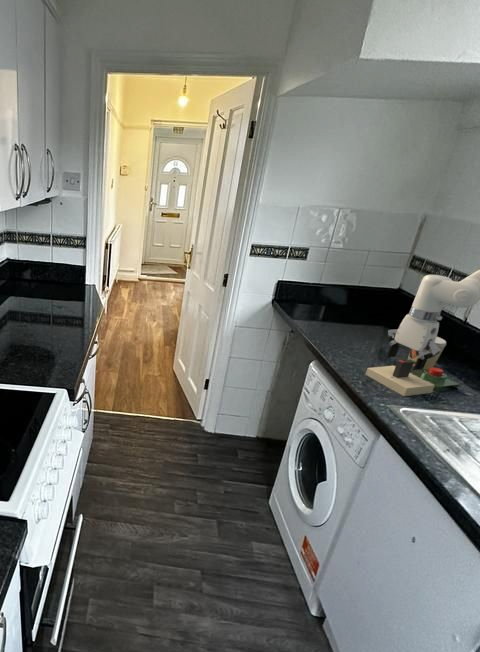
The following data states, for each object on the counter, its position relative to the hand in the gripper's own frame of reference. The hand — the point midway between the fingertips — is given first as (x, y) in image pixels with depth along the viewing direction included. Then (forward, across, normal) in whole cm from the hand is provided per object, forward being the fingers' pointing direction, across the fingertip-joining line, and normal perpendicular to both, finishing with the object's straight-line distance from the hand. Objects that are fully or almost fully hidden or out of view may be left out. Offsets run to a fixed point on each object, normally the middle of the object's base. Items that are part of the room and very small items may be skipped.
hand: (404, 362), depth 138 cm
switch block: (+8, -2, -13) cm, 16 cm away
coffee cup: (+8, +9, -21) cm, 24 cm away
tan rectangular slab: (+8, 0, 0) cm, 8 cm away
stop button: (+4, -2, -13) cm, 14 cm away
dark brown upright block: (+5, 0, 0) cm, 5 cm away
